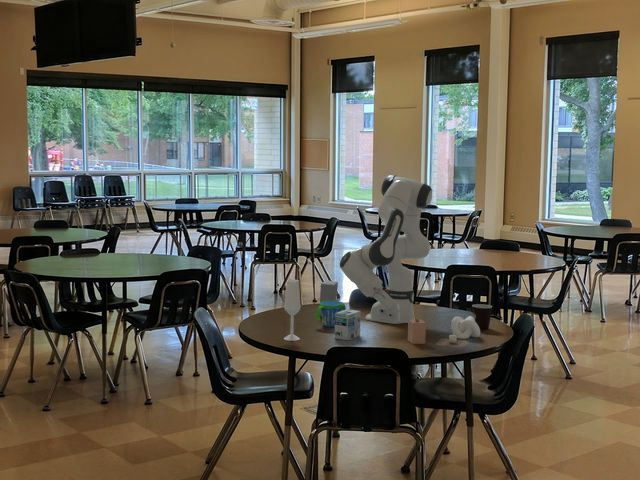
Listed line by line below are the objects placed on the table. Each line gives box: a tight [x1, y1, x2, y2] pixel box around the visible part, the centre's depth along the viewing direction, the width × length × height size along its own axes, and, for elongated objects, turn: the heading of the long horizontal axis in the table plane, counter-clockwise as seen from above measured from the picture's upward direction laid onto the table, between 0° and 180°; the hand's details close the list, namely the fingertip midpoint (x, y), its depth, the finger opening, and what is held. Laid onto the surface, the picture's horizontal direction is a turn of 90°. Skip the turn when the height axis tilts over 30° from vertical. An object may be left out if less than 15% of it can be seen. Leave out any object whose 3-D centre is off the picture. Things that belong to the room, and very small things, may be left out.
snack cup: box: [315, 300, 347, 328], centre depth 367 cm, size 16×10×10 cm
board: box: [435, 338, 471, 349], centre depth 337 cm, size 12×12×1 cm
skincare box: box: [319, 280, 339, 318], centre depth 388 cm, size 8×7×16 cm
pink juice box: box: [407, 317, 427, 345], centre depth 337 cm, size 5×6×10 cm
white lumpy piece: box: [450, 315, 481, 340], centre depth 349 cm, size 11×12×9 cm
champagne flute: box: [283, 279, 302, 342], centre depth 341 cm, size 7×7×24 cm
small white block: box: [448, 334, 458, 344], centre depth 337 cm, size 3×3×3 cm
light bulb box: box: [334, 308, 362, 341], centre depth 346 cm, size 11×7×11 cm, turn 148°
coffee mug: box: [471, 303, 493, 331], centre depth 370 cm, size 12×9×10 cm
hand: (394, 310), depth 334 cm, fingers open, 8 cm apart
